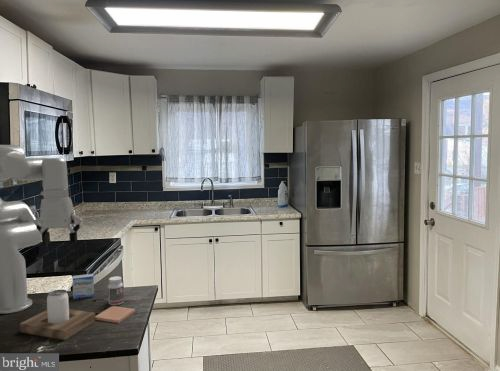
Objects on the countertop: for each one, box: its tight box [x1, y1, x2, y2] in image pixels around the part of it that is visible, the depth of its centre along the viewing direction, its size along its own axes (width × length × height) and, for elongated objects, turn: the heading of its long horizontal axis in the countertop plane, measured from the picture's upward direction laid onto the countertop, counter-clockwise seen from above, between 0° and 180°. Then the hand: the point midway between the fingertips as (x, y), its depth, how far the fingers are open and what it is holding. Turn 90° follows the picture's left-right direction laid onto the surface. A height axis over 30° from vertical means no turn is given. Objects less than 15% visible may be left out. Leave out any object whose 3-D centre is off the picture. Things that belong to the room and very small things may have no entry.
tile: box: [95, 305, 136, 324], centre depth 138 cm, size 10×10×1 cm
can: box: [46, 288, 70, 325], centre depth 129 cm, size 6×6×12 cm
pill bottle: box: [107, 276, 125, 306], centre depth 149 cm, size 6×6×10 cm
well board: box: [19, 308, 96, 341], centre depth 130 cm, size 18×14×3 cm
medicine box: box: [72, 273, 95, 300], centre depth 156 cm, size 8×4×9 cm, turn 114°
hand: (60, 243), depth 131 cm, fingers open, 9 cm apart
